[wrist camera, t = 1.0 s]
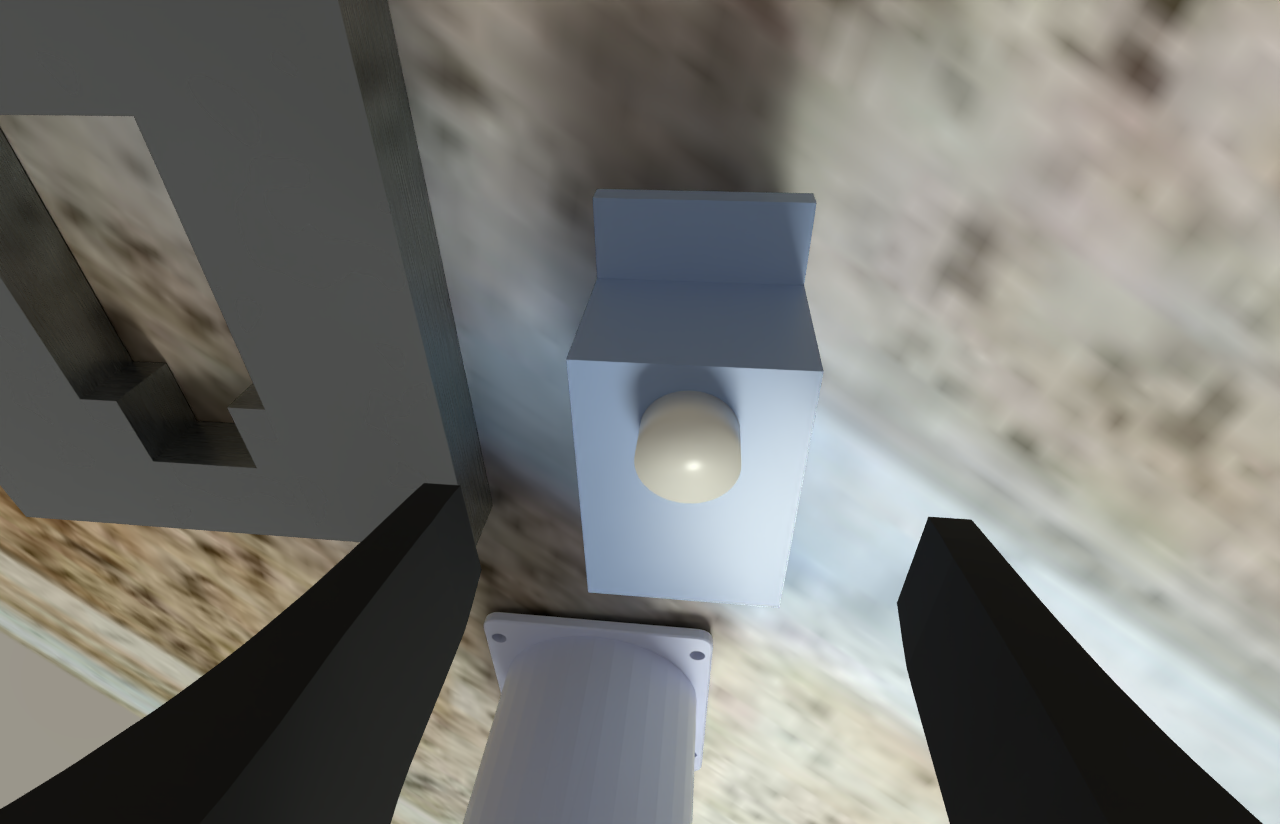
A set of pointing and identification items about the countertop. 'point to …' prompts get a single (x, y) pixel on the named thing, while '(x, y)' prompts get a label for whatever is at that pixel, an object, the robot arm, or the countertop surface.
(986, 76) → the countertop surface
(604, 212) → the servo
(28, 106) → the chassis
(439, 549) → the robot arm
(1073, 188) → the countertop surface
